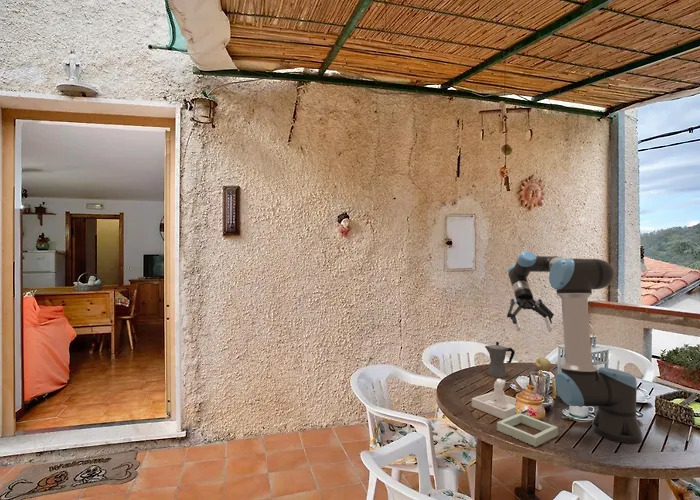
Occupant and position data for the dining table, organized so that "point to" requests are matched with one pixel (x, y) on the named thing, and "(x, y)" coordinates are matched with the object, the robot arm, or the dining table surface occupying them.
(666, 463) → the dining table surface
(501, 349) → the coffeepot
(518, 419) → the holder
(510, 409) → the tray
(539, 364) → the fruit
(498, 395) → the sitting furry creature
